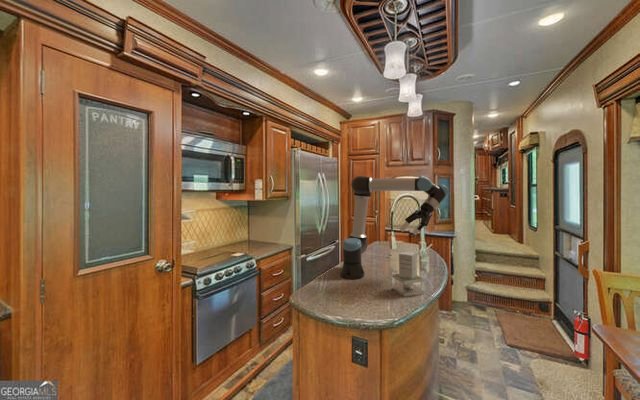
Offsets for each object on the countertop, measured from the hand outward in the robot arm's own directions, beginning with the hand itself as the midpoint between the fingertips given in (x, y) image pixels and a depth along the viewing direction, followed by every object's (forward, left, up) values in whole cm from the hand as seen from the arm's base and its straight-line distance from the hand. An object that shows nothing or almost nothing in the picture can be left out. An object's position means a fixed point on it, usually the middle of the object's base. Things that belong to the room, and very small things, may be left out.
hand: (407, 232), depth 161 cm
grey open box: (-9, -14, -30) cm, 34 cm away
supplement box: (-9, -14, -22) cm, 27 cm away
